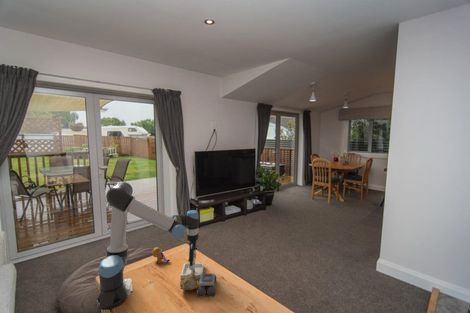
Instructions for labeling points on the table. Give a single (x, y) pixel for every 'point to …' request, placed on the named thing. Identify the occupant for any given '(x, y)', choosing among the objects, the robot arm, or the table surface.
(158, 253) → the toy
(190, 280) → the rock
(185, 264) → the tray
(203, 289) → the trolley
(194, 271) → the pin
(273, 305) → the table surface
